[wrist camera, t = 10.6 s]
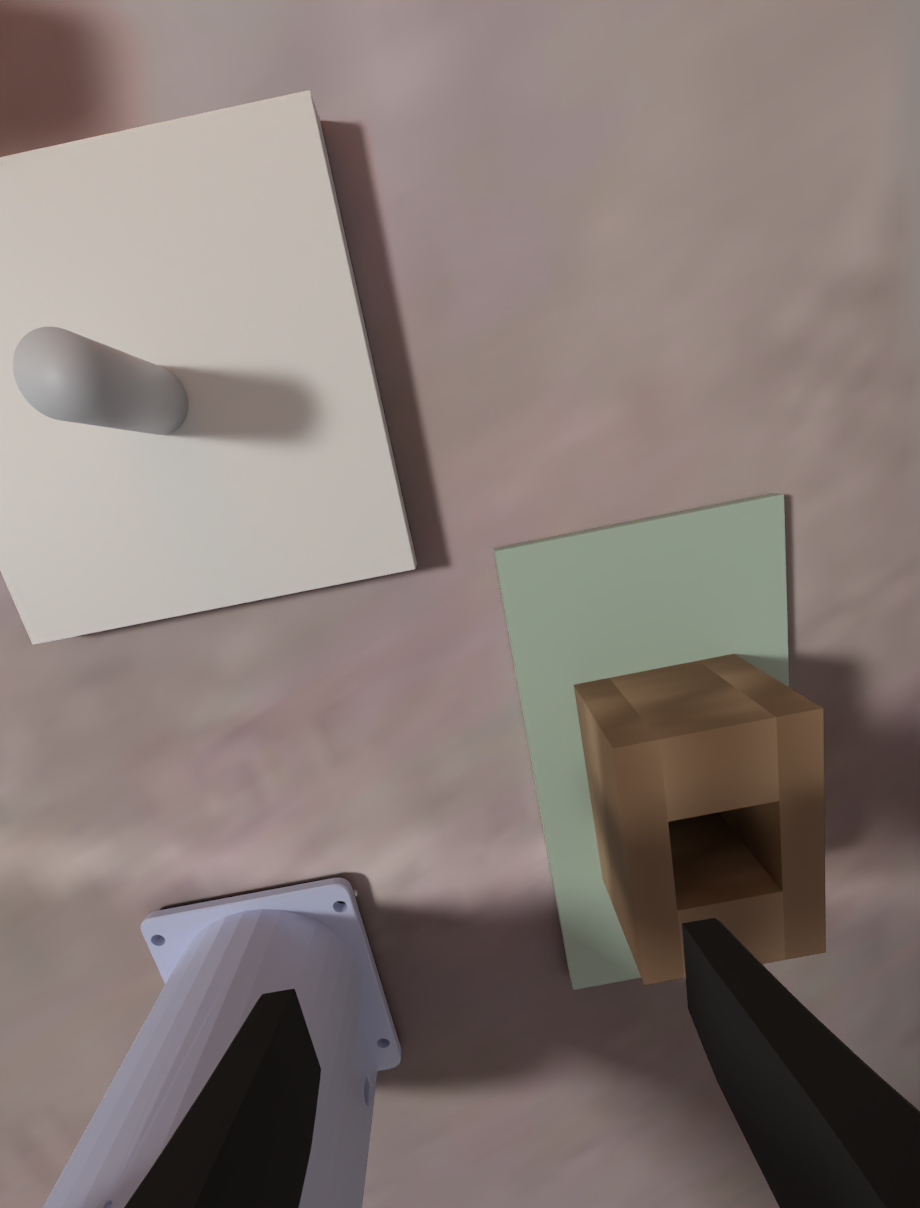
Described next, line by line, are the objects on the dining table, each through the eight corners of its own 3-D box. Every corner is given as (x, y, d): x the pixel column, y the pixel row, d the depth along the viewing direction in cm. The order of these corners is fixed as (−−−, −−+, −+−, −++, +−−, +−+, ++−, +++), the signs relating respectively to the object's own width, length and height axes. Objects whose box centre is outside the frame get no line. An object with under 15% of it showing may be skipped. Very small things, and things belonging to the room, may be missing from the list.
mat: (786, 936, 20) (796, 949, 20) (569, 975, 20) (573, 989, 20) (771, 493, 16) (783, 494, 15) (493, 548, 16) (494, 550, 15)
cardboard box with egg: (734, 653, 16) (823, 708, 13) (745, 852, 18) (825, 952, 15) (573, 684, 17) (612, 748, 13) (602, 879, 19) (644, 984, 15)
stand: (417, 563, 16) (406, 596, 12) (57, 634, 16) (-86, 692, 12) (319, 118, 13) (256, -63, 9) (-121, 214, 13) (-399, 83, 9)
